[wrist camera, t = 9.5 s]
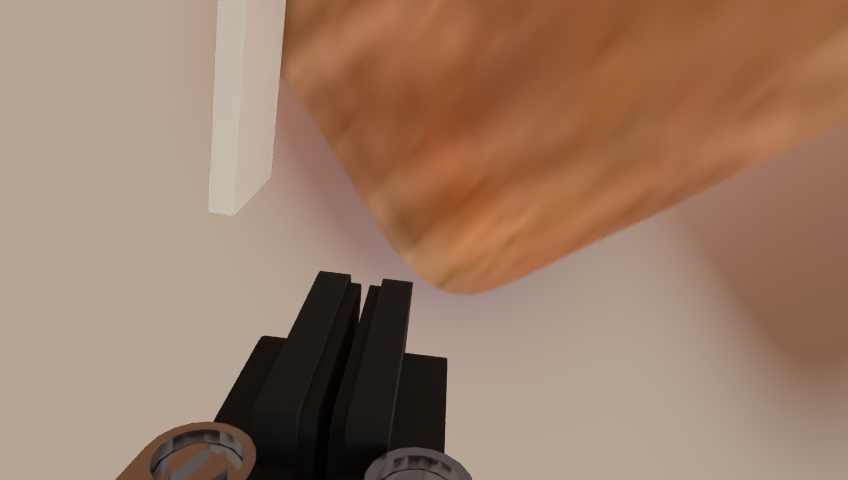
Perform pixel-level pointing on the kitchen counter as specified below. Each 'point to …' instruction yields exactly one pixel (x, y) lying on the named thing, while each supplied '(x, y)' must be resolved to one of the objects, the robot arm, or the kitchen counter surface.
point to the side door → (244, 100)
